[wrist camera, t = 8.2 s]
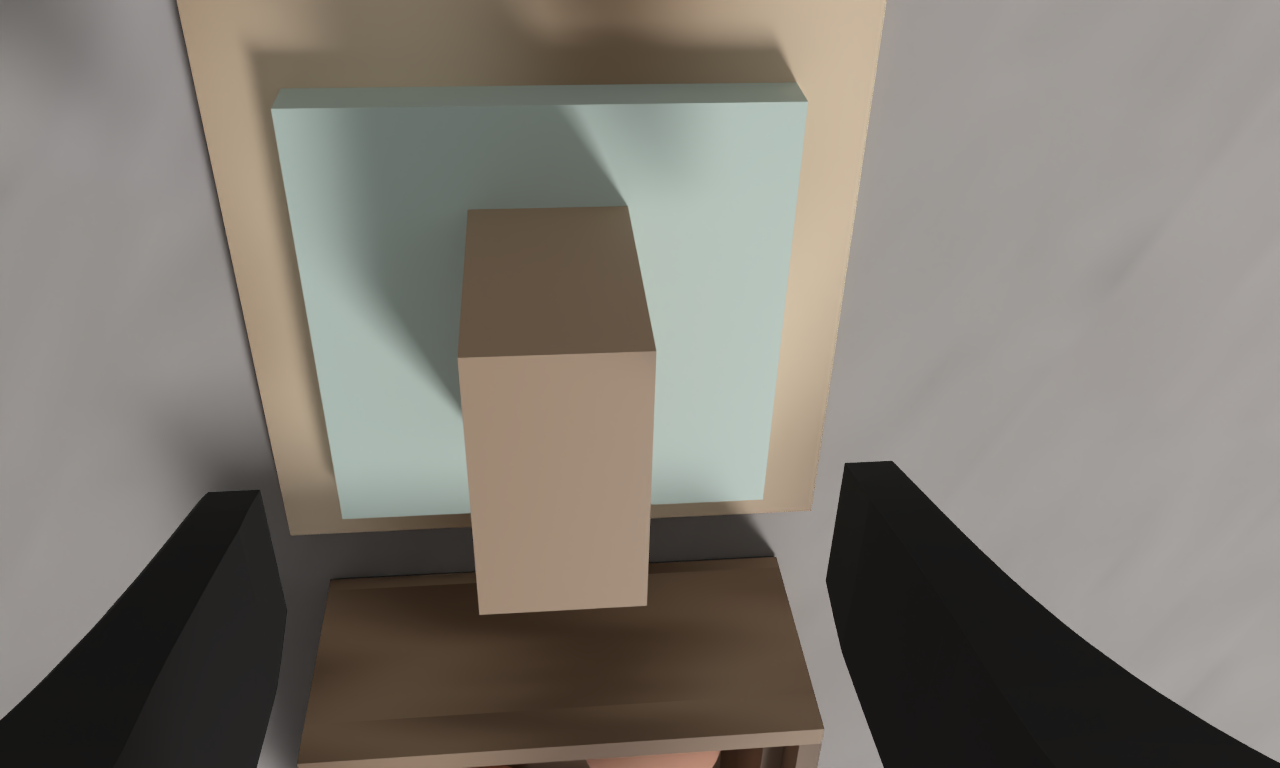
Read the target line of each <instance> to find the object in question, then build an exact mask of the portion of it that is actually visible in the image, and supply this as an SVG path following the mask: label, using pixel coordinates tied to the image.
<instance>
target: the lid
mask: <svg viewBox="0 0 1280 768" xmlns="http://www.w3.org/2000/svg"><path fill="white" fill-rule="evenodd" d="M807 108H808V100H807V99H806V97H805V95H804V94H803V92H802V91H801V89H800V87H799V86H798V84H797V82H785V83H699V84H613V85H527V86H441V87H355V88H280V91H279V93H278V95H277V97H276V99H275V101H274V103H273V105H272V107H271V113H272V118H273V124H274V130H275V135H276V141H277V147H278V153H279V158H280V164H281V170H282V175H283V181H284V187H285V193H286V198H287V204H288V210H289V215H290V221H291V227H292V233H293V238H294V244H295V250H296V256H297V261H298V267H299V273H300V278H301V284H302V290H303V296H304V301H305V307H306V313H307V318H308V324H309V330H310V336H311V341H312V347H313V353H314V358H315V364H316V370H317V376H318V381H319V387H320V393H321V398H322V404H323V410H324V416H325V421H326V427H327V433H328V439H329V444H330V450H331V456H332V461H333V467H334V473H335V479H336V484H337V490H338V496H339V501H340V507H341V513H342V519H356V518H378V517H399V516H420V515H442V514H463V513H471V522H472V534H473V545H474V557H475V568H476V580H477V592H478V603H479V615H487V614H505V613H523V612H541V611H559V610H577V609H596V608H614V607H632V606H647V590H648V563H649V537H650V510H651V505H656V504H677V503H699V502H720V501H742V500H763V494H764V486H765V477H766V468H767V459H768V451H769V442H770V433H771V424H772V415H773V407H774V398H775V389H776V380H777V372H778V363H779V354H780V345H781V336H782V328H783V319H784V310H785V301H786V293H787V284H788V275H789V266H790V257H791V249H792V240H793V231H794V222H795V214H796V205H797V196H798V187H799V178H800V170H801V161H802V152H803V143H804V135H805V126H806V117H807Z"/></svg>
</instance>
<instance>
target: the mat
mask: <svg viewBox="0 0 1280 768" xmlns="http://www.w3.org/2000/svg"><path fill="white" fill-rule="evenodd" d="M886 1H887V0H177V5H178V10H179V15H180V19H181V24H182V29H183V33H184V38H185V43H186V47H187V52H188V57H189V61H190V66H191V71H192V76H193V80H194V85H195V90H196V94H197V99H198V104H199V108H200V113H201V118H202V122H203V127H204V132H205V136H206V141H207V146H208V151H209V155H210V160H211V165H212V169H213V174H214V179H215V183H216V188H217V193H218V197H219V202H220V207H221V212H222V216H223V221H224V226H225V230H226V235H227V240H228V244H229V249H230V254H231V258H232V263H233V268H234V272H235V277H236V282H237V287H238V291H239V296H240V301H241V305H242V310H243V315H244V319H245V324H246V329H247V333H248V338H249V343H250V348H251V352H252V357H253V362H254V366H255V371H256V376H257V380H258V385H259V390H260V394H261V399H262V404H263V408H264V413H265V418H266V423H267V427H268V432H269V437H270V441H271V446H272V451H273V455H274V460H275V465H276V469H277V474H278V479H279V484H280V488H281V493H282V498H283V502H284V507H285V512H286V516H287V521H288V526H289V530H290V535H312V534H333V533H353V532H374V531H395V530H416V529H437V528H458V527H472V522H471V513H463V514H442V515H420V516H399V517H378V518H356V519H342V513H341V507H340V501H339V496H338V490H337V484H336V479H335V473H334V467H333V461H332V456H331V450H330V444H329V439H328V433H327V427H326V421H325V416H324V410H323V404H322V398H321V393H320V387H319V381H318V376H317V370H316V364H315V358H314V353H313V347H312V341H311V336H310V330H309V324H308V318H307V313H306V307H305V301H304V296H303V290H302V284H301V278H300V273H299V267H298V261H297V256H296V250H295V244H294V238H293V233H292V227H291V221H290V215H289V210H288V204H287V198H286V193H285V187H284V181H283V175H282V170H281V164H280V158H279V153H278V147H277V141H276V135H275V130H274V124H273V118H272V113H271V107H272V105H273V103H274V101H275V99H276V97H277V95H278V93H279V91H280V88H355V87H441V86H527V85H613V84H699V83H785V82H797V84H798V86H799V87H800V89H801V91H802V92H803V94H804V95H805V97H806V99H807V100H808V108H807V117H806V126H805V135H804V143H803V152H802V161H801V170H800V178H799V187H798V196H797V205H796V214H795V222H794V231H793V240H792V249H791V257H790V266H789V275H788V284H787V293H786V301H785V310H784V319H783V328H782V336H781V345H780V354H779V363H778V372H777V380H776V389H775V398H774V407H773V415H772V424H771V433H770V442H769V451H768V459H767V468H766V477H765V486H764V494H763V500H742V501H720V502H699V503H677V504H656V505H651V510H650V518H667V517H688V516H709V515H730V514H751V513H772V512H793V511H811V508H812V502H813V495H814V488H815V481H816V475H817V468H818V461H819V454H820V448H821V441H822V434H823V427H824V421H825V414H826V407H827V400H828V393H829V387H830V380H831V373H832V366H833V360H834V353H835V346H836V339H837V333H838V326H839V319H840V312H841V306H842V299H843V292H844V285H845V279H846V272H847V265H848V258H849V252H850V245H851V238H852V231H853V224H854V218H855V211H856V204H857V197H858V191H859V184H860V177H861V170H862V164H863V157H864V150H865V143H866V137H867V130H868V123H869V116H870V110H871V103H872V96H873V89H874V82H875V76H876V69H877V62H878V55H879V49H880V42H881V35H882V28H883V22H884V15H885V8H886Z"/></svg>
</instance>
